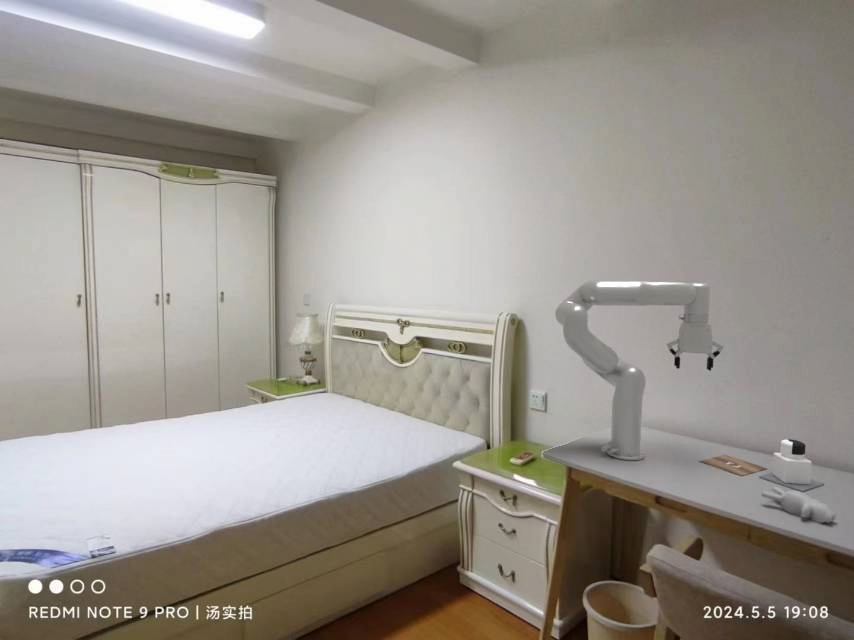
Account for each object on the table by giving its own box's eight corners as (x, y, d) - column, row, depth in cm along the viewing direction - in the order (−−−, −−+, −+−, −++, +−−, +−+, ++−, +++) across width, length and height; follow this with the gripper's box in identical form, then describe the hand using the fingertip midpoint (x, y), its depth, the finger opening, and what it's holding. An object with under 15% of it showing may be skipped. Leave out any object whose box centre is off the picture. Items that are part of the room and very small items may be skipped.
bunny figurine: (826, 514, 123) (760, 485, 136) (821, 532, 124) (757, 502, 137) (842, 505, 128) (777, 478, 141) (838, 523, 129) (774, 495, 142)
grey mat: (802, 492, 145) (802, 490, 145) (759, 477, 156) (759, 476, 156) (824, 484, 151) (824, 483, 151) (780, 471, 161) (781, 469, 161)
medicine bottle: (796, 475, 156) (799, 438, 156) (810, 485, 149) (813, 445, 148) (771, 474, 157) (774, 436, 157) (784, 483, 150) (787, 444, 149)
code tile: (741, 476, 157) (741, 475, 157) (699, 461, 169) (699, 461, 169) (767, 468, 163) (767, 468, 163) (725, 455, 176) (725, 454, 176)
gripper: (669, 319, 171) (667, 369, 172) (727, 321, 166) (724, 372, 167) (666, 317, 178) (664, 365, 180) (721, 319, 173) (718, 368, 174)
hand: (693, 368), depth 173 cm, fingers open, 9 cm apart
